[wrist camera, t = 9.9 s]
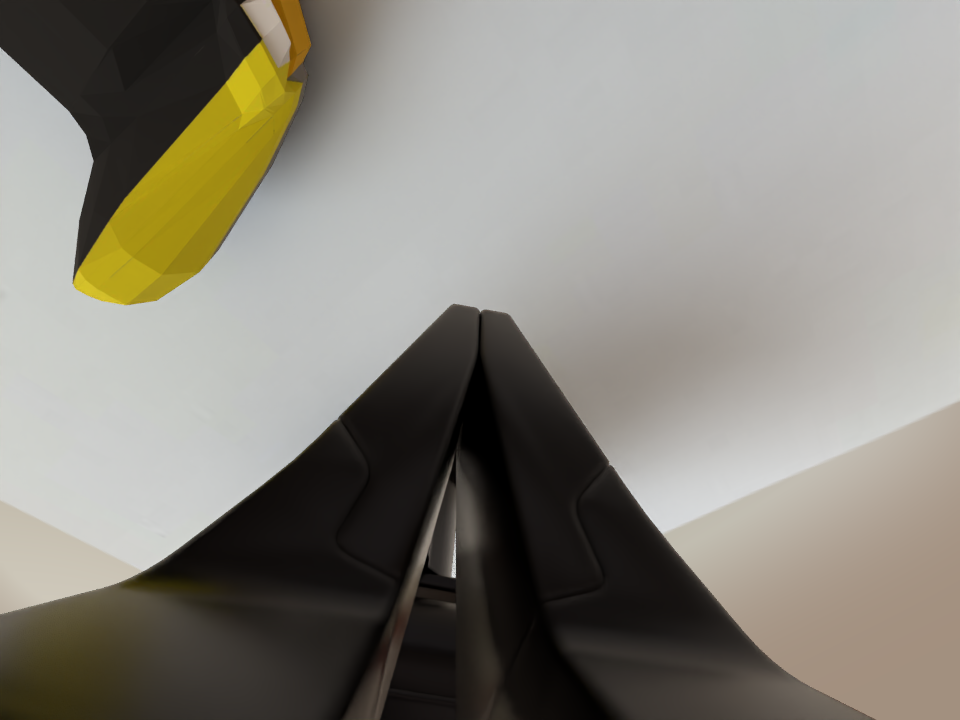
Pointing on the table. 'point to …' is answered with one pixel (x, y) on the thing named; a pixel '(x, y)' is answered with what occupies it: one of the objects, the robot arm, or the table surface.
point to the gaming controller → (163, 122)
